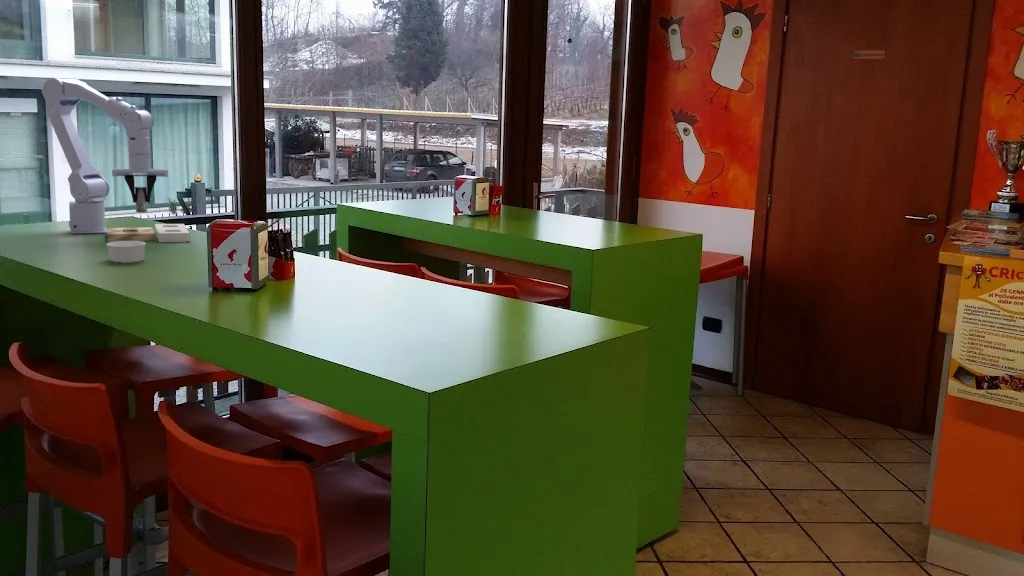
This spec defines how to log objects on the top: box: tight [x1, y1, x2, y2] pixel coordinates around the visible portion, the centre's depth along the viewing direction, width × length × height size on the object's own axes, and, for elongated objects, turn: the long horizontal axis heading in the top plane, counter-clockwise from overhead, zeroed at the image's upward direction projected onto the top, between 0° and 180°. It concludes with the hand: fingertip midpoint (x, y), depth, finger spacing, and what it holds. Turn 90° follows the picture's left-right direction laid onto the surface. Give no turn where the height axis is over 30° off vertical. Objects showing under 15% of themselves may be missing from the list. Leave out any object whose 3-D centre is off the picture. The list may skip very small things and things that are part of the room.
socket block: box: [106, 226, 156, 242], centre depth 257 cm, size 12×12×2 cm
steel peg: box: [135, 186, 148, 213], centre depth 257 cm, size 3×3×7 cm
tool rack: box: [154, 223, 190, 243], centre depth 261 cm, size 8×18×2 cm, turn 24°
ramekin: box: [106, 241, 146, 264], centre depth 224 cm, size 9×9×4 cm
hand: (141, 202), depth 257 cm, fingers closed on steel peg, 3 cm apart
